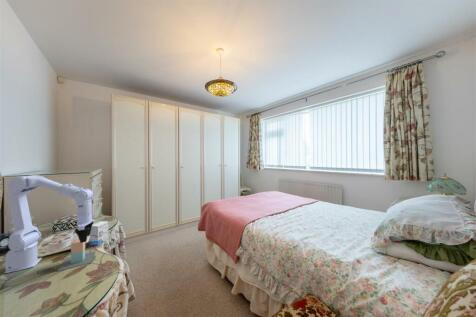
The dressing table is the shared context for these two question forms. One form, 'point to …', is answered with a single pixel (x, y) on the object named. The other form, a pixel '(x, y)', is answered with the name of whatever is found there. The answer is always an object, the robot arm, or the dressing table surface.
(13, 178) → the robot arm
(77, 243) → the peach block
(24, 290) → the dressing table surface
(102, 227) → the ink box
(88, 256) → the mat
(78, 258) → the teal brick
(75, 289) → the dressing table surface
